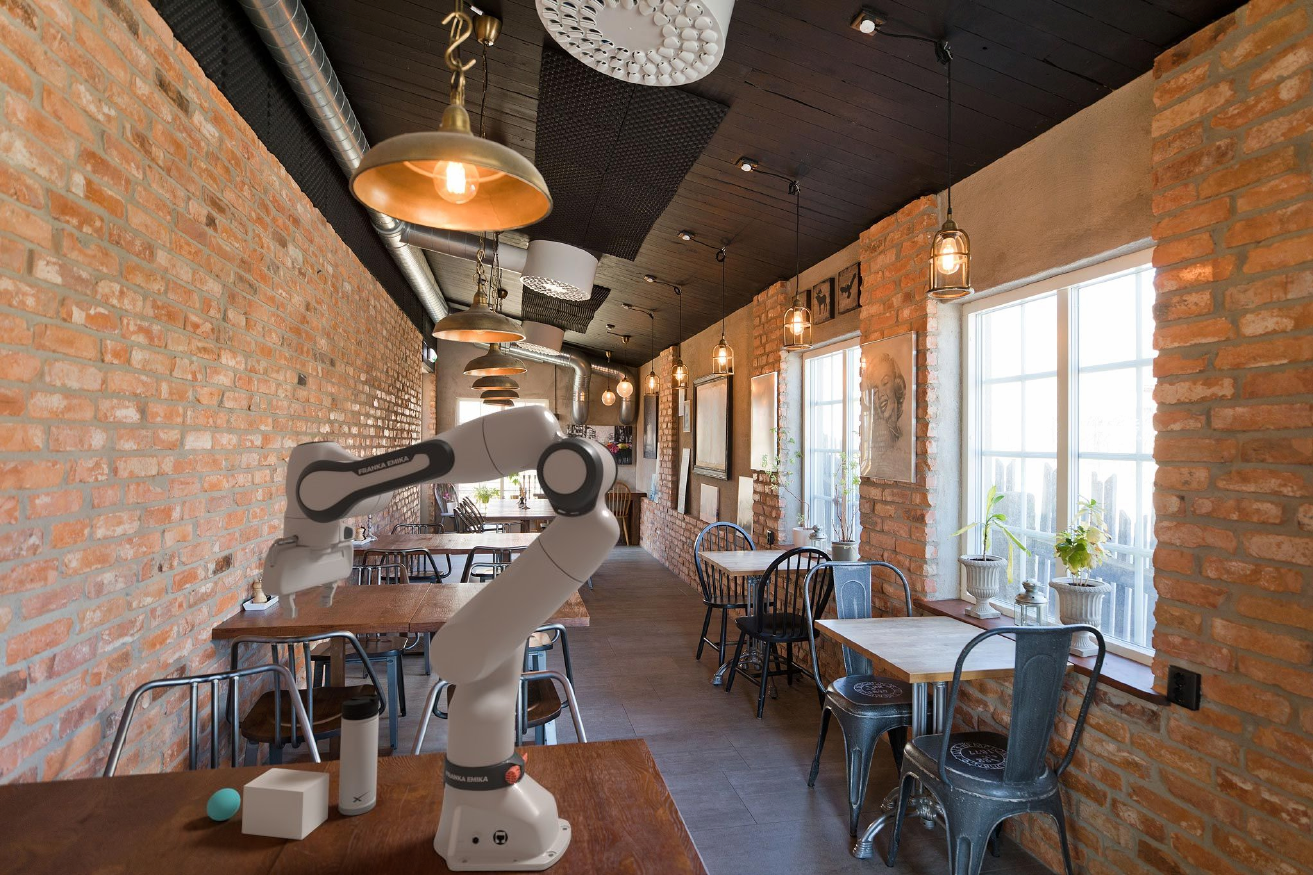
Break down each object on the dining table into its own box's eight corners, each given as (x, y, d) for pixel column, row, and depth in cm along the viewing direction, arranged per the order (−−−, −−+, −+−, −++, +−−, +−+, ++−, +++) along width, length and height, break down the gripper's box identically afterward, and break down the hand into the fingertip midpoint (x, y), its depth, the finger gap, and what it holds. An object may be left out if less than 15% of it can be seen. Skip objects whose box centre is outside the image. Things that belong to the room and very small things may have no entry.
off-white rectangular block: (327, 818, 122) (329, 773, 122) (301, 839, 115) (303, 791, 115) (270, 812, 123) (272, 767, 124) (241, 833, 116) (243, 785, 117)
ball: (246, 813, 123) (247, 784, 123) (225, 827, 118) (226, 797, 118) (221, 810, 124) (222, 782, 124) (198, 824, 119) (200, 795, 119)
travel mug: (363, 818, 122) (367, 703, 123) (330, 813, 123) (334, 700, 124) (384, 801, 128) (388, 691, 129) (352, 797, 129) (356, 688, 130)
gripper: (288, 540, 111) (284, 627, 111) (360, 528, 131) (357, 601, 131) (252, 538, 112) (248, 624, 111) (330, 527, 132) (327, 599, 132)
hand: (308, 612), depth 121 cm, fingers open, 8 cm apart
